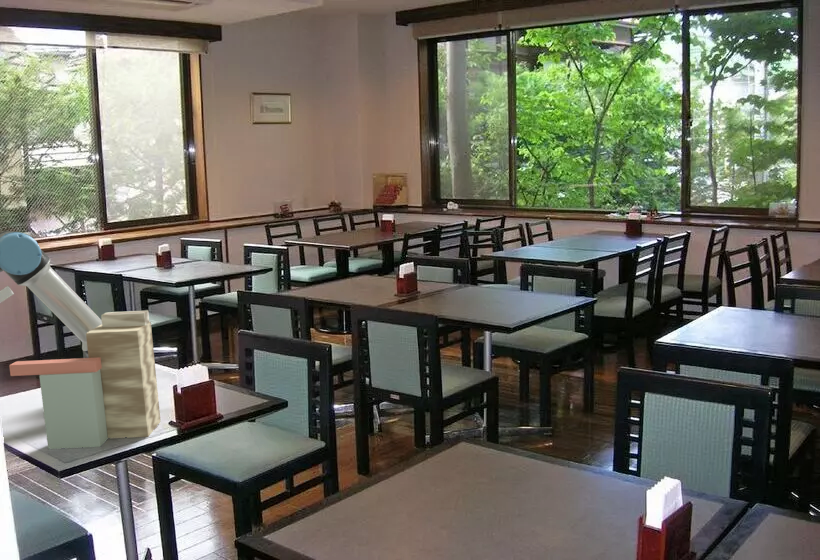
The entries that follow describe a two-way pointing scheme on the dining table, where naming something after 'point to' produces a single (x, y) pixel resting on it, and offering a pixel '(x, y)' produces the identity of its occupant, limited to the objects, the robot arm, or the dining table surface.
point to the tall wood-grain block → (126, 373)
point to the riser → (73, 410)
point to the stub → (55, 366)
